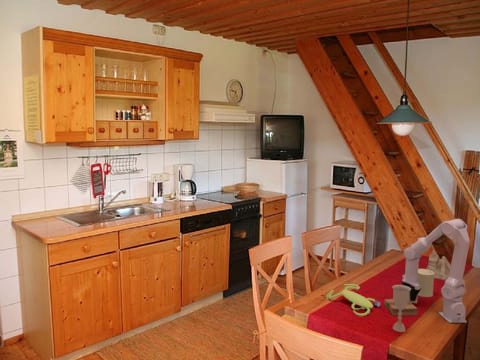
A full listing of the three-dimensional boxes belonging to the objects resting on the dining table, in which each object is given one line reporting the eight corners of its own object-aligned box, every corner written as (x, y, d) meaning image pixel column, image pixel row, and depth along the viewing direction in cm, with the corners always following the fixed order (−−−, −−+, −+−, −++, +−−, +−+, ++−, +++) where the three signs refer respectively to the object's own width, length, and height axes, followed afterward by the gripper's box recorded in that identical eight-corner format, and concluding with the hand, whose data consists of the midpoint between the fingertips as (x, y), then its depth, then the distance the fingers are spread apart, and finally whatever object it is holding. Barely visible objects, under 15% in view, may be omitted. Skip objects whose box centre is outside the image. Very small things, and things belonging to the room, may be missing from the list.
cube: (417, 303, 205) (417, 293, 204) (406, 303, 205) (407, 293, 204) (412, 299, 210) (413, 289, 209) (402, 299, 210) (403, 289, 209)
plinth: (417, 315, 192) (417, 308, 191) (393, 315, 191) (393, 309, 191) (406, 304, 203) (407, 298, 202) (383, 305, 202) (384, 299, 202)
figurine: (350, 290, 221) (350, 280, 220) (390, 310, 197) (390, 299, 197) (321, 297, 212) (322, 286, 211) (360, 318, 189) (360, 306, 188)
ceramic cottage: (448, 281, 233) (450, 254, 232) (419, 274, 245) (421, 249, 245) (460, 277, 243) (462, 251, 242) (432, 270, 255) (434, 245, 255)
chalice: (404, 325, 182) (406, 284, 180) (411, 332, 176) (413, 291, 173) (387, 325, 182) (389, 284, 180) (393, 332, 175) (396, 291, 173)
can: (435, 297, 211) (436, 274, 210) (415, 296, 213) (416, 273, 212) (430, 290, 220) (432, 268, 219) (411, 289, 222) (413, 267, 220)
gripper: (397, 266, 212) (395, 292, 214) (410, 276, 198) (408, 304, 200) (411, 266, 213) (409, 292, 214) (424, 276, 198) (423, 304, 200)
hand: (409, 298), depth 207 cm, fingers open, 6 cm apart
